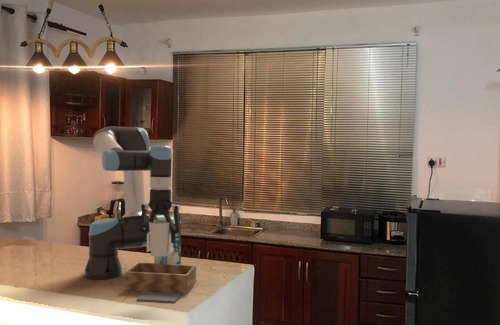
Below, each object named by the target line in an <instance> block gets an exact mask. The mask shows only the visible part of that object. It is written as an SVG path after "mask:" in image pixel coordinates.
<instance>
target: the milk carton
mask: <svg viewBox="0 0 500 325" xmlns="http://www.w3.org/2000/svg"><path fill="white" fill-rule="evenodd" d="M170 217H171V219H172V222H173V225H174V227H175V220H174V214H170ZM154 220H166V219H165V217H164V215H161V214H157V215H156V216H155V219H154ZM180 227H181V228H182V222H181V221H180ZM175 230H176V228H175ZM170 234H171V232H170ZM181 247H182V230H181V231H180V232H179V233H176V241H175V243H173V251H172V252H171V253H169V255H167V256H163V257H155V256H153V259H154V262H153V263H157V264H177V265H182V264H181V262H182V260H181V258H182V256H181V255H182V248H181Z"/></svg>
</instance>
